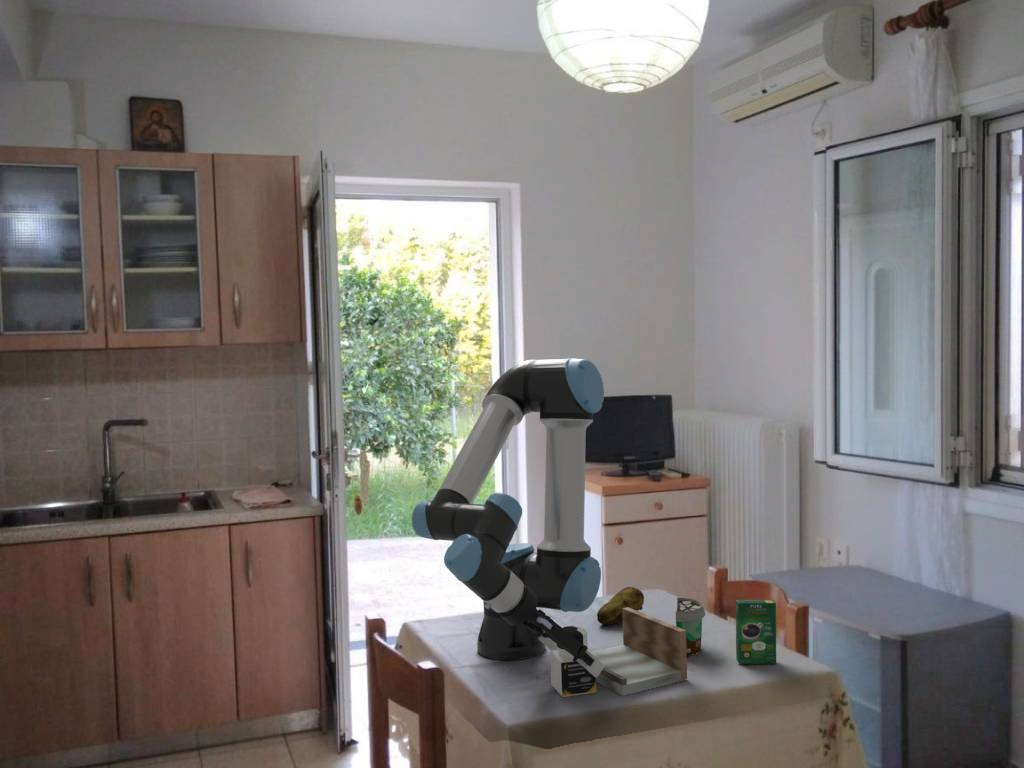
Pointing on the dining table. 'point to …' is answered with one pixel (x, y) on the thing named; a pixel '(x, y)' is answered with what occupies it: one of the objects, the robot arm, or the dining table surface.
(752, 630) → the coffee box
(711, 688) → the dining table surface
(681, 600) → the food container
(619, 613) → the potato
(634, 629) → the wall board
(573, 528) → the robot arm
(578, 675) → the medicine bottle
